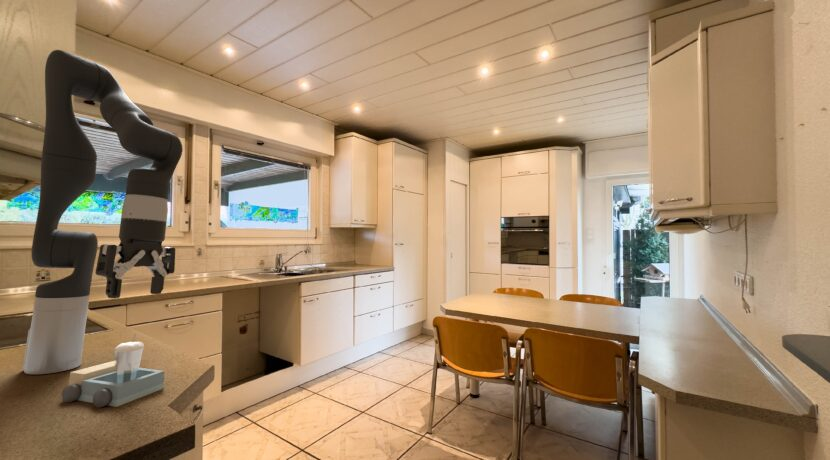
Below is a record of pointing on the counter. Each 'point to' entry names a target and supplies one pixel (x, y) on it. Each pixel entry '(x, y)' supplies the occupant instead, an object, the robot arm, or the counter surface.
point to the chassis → (110, 385)
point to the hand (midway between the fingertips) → (136, 295)
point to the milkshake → (127, 361)
